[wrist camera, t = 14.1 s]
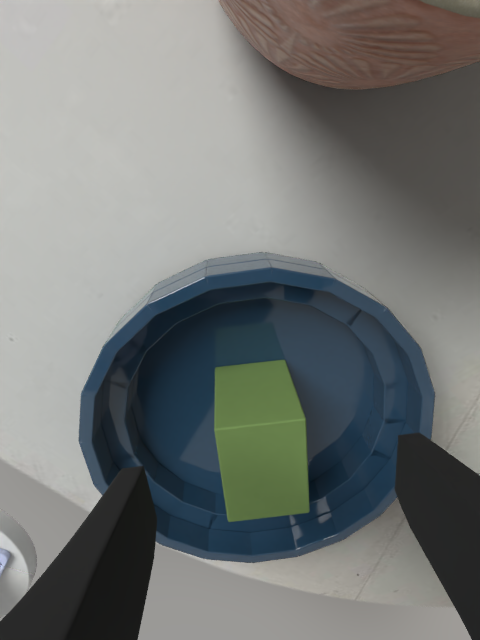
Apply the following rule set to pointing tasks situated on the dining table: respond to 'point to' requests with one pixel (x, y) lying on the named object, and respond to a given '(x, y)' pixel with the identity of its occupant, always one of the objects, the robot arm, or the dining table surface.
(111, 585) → the robot arm
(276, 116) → the dining table surface
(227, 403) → the scrub pad
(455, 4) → the planter
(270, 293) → the bowl
